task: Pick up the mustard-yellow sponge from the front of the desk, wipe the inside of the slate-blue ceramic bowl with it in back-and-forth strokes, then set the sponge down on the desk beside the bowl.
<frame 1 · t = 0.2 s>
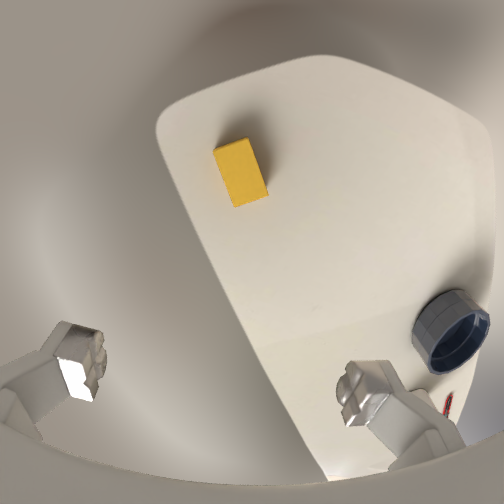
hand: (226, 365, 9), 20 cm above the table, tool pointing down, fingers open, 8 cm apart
sponge: (240, 168, 26), on the table
bowl: (441, 320, 35), on the table
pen: (445, 409, 47), on the table
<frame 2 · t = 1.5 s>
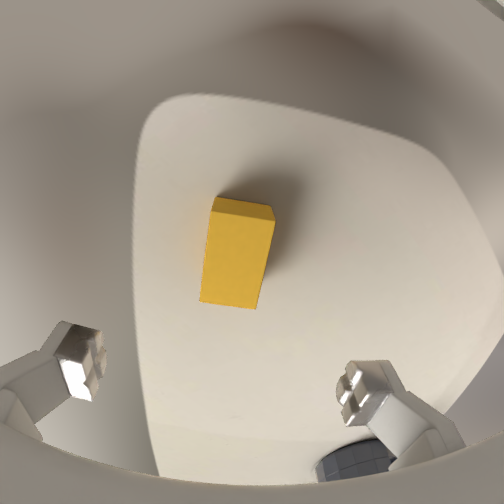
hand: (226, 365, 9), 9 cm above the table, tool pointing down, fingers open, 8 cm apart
sponge: (235, 243, 17), on the table
bowl: (354, 457, 30), on the table
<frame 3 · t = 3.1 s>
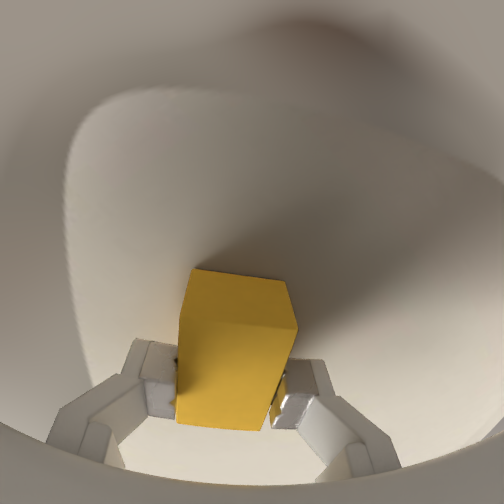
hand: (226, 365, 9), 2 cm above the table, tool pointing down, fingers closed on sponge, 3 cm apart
sponge: (228, 334, 10), on the table, touching gripper
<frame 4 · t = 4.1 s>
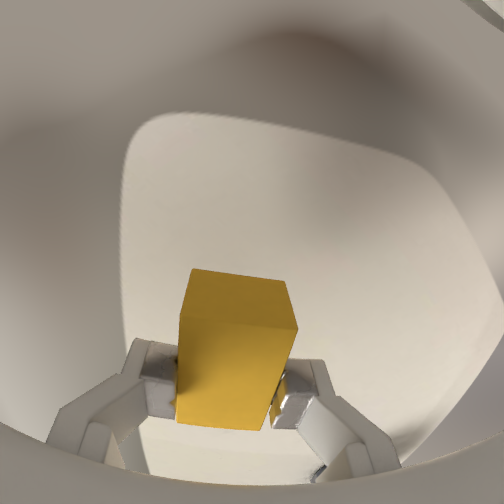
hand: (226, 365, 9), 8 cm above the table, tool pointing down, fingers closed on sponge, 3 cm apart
sponge: (228, 334, 11), point 7 cm above the table, touching gripper
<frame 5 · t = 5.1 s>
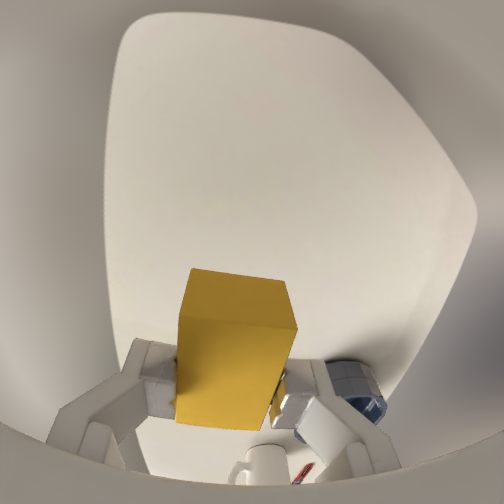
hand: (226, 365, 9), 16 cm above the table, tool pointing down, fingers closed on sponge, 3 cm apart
sponge: (227, 334, 10), point 14 cm above the table, touching gripper
bowl: (331, 387, 33), on the table
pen: (300, 475, 46), on the table
mug: (256, 449, 39), on the table
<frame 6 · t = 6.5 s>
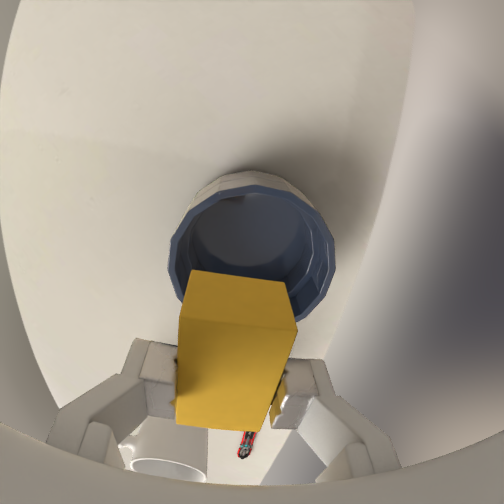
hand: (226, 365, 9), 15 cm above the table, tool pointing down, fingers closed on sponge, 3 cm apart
sponge: (227, 335, 10), point 14 cm above the table, touching gripper
bowl: (249, 236, 24), on the table
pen: (247, 436, 37), on the table
mug: (168, 372, 30), on the table
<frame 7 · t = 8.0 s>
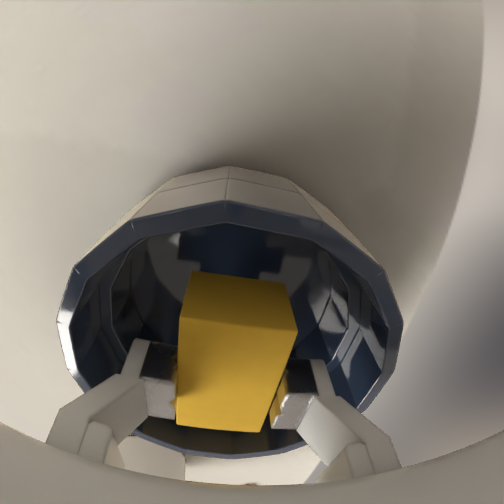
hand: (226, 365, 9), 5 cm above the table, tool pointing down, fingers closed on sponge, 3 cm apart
sponge: (227, 336, 10), point 3 cm above the table, touching gripper
bowl: (230, 288, 13), on the table
mug: (131, 444, 20), on the table
when the fingers open (1 cm above the table, at t = 15.5 s): sponge stays where it is, on the table.
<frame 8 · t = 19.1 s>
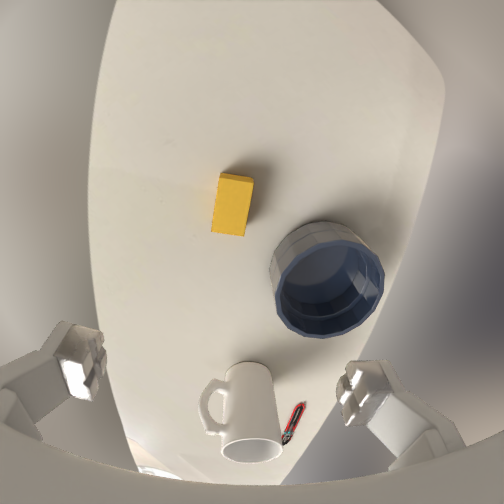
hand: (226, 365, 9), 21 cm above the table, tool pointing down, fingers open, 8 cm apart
sponge: (232, 200, 28), on the table
bowl: (318, 266, 32), on the table
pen: (290, 424, 44), on the table
mug: (237, 371, 38), on the table
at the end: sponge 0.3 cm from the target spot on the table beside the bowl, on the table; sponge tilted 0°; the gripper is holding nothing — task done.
